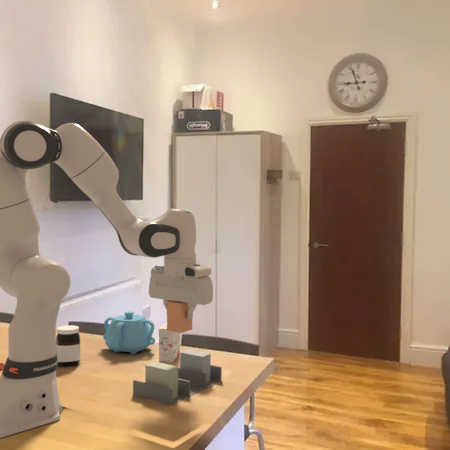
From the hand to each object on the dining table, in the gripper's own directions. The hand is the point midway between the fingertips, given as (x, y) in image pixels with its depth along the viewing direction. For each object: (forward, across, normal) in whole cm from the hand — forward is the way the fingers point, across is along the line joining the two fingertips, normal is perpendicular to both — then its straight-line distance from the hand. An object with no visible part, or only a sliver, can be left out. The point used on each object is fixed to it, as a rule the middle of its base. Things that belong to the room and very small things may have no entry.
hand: (179, 317), depth 150 cm
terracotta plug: (+4, 0, 0) cm, 4 cm away
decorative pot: (+21, -40, +23) cm, 51 cm away
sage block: (+20, 0, -8) cm, 21 cm away
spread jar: (+21, -48, -1) cm, 52 cm away
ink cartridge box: (+21, -20, +21) cm, 36 cm away
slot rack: (+21, 0, 0) cm, 21 cm away
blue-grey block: (+20, 0, +8) cm, 21 cm away
